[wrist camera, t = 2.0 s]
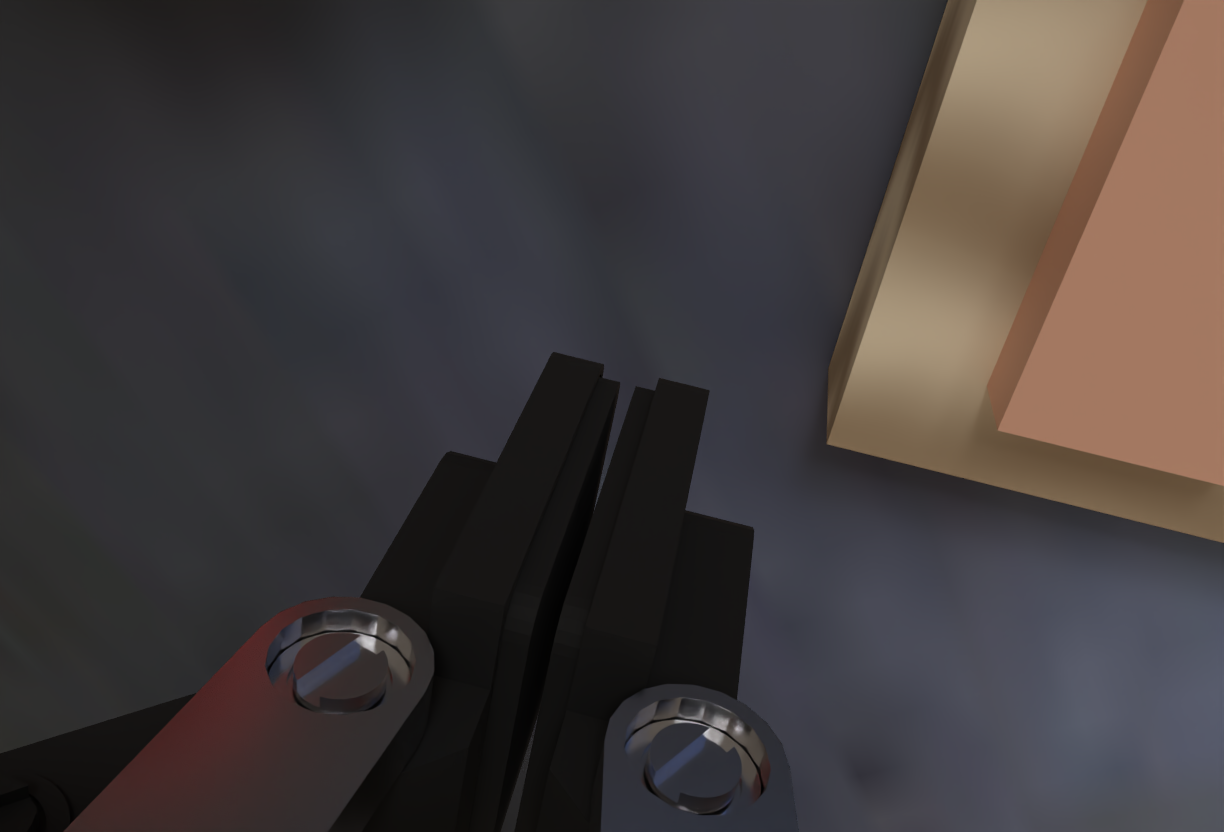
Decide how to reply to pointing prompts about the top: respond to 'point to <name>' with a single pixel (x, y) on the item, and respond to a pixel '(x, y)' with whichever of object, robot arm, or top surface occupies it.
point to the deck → (988, 259)
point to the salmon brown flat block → (1135, 268)
